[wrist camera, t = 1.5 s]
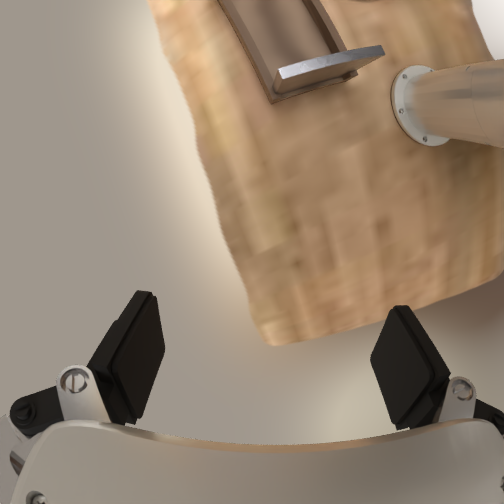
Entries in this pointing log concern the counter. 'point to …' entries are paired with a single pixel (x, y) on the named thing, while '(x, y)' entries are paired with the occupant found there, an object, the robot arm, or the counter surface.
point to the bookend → (323, 68)
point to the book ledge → (283, 37)
